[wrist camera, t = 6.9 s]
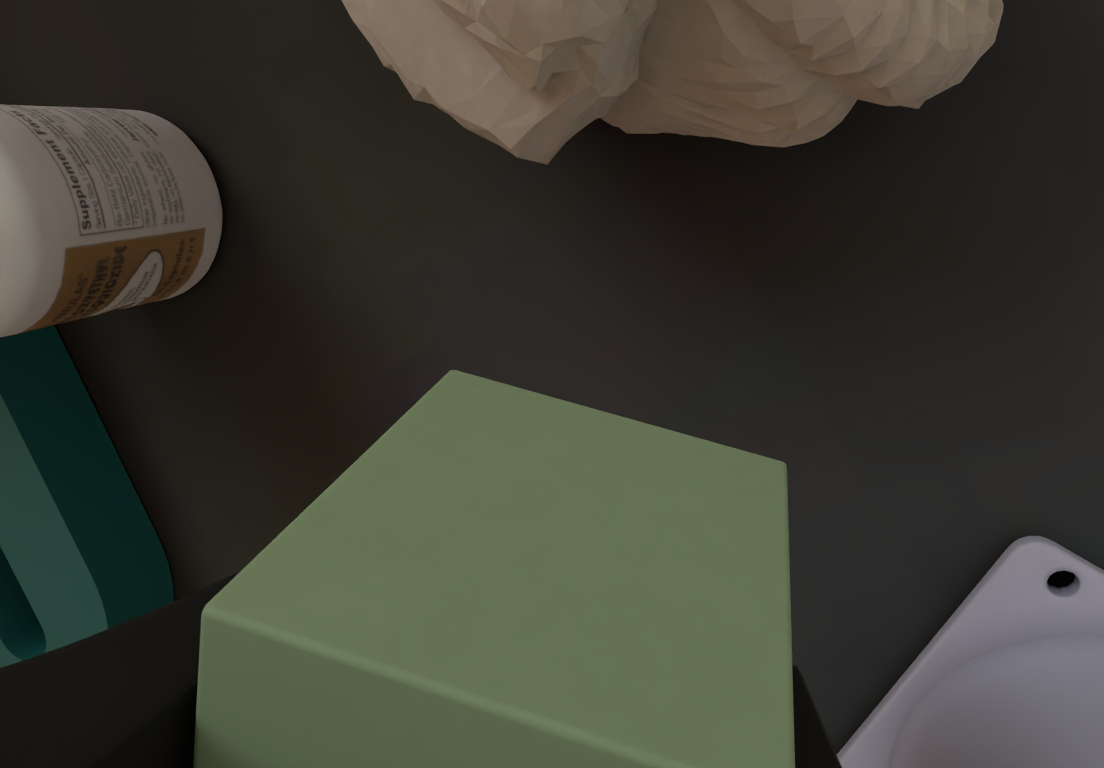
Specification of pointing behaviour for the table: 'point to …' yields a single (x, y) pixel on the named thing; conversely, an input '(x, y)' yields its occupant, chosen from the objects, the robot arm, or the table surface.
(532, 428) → the green block
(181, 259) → the pill bottle
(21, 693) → the robot arm
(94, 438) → the bracket
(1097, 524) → the table surface
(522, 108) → the fossil replica
